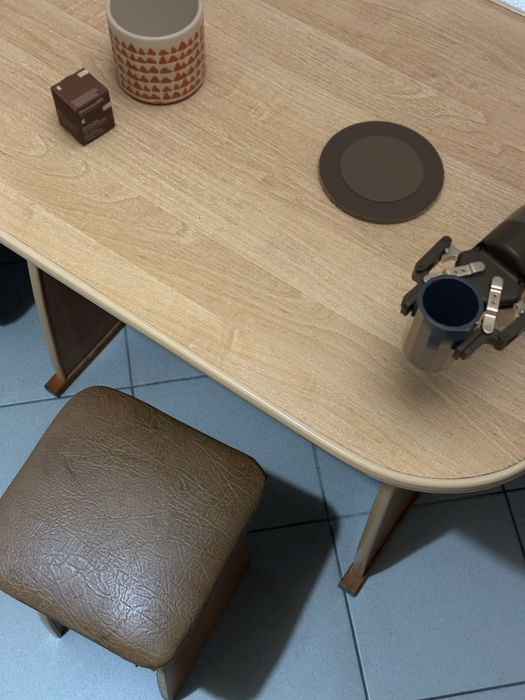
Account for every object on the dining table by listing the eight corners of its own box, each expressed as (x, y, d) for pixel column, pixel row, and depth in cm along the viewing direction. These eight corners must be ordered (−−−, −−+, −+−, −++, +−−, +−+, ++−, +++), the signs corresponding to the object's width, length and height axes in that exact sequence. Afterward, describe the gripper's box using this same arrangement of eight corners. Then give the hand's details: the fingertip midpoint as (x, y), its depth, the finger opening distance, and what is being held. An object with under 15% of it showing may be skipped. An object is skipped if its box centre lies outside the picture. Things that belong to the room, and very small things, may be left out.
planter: (101, 91, 126) (88, 23, 115) (138, 31, 132) (129, -40, 121) (185, 116, 125) (180, 50, 113) (218, 54, 131) (217, -15, 119)
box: (83, 147, 121) (74, 111, 115) (58, 123, 123) (48, 86, 117) (116, 126, 123) (110, 89, 117) (91, 103, 125) (83, 65, 119)
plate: (437, 127, 125) (439, 122, 124) (447, 226, 117) (449, 221, 116) (317, 123, 125) (318, 117, 124) (319, 222, 116) (319, 217, 115)
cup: (458, 321, 98) (480, 275, 89) (463, 373, 94) (486, 331, 86) (400, 319, 98) (416, 273, 89) (403, 372, 94) (420, 329, 86)
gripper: (484, 188, 94) (385, 272, 89) (587, 267, 90) (490, 361, 84) (467, 227, 101) (374, 308, 95) (563, 302, 97) (471, 392, 91)
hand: (429, 332), depth 90 cm, fingers closed on cup, 7 cm apart
